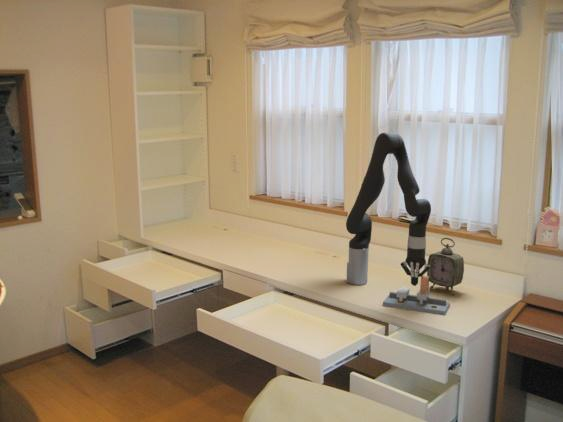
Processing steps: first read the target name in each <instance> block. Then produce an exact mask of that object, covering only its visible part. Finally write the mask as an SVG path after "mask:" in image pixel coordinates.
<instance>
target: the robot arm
mask: <svg viewBox="0 0 563 422" xmlns="http://www.w3.org/2000/svg"><path fill="white" fill-rule="evenodd" d="M388 155H393V156H394V158H395V160H396V163H397V182H398V184H399V187H400V190H401V192H402V194H403V202H404V208H405V211H406V212H407V214H408V215H409V216H410V217H412V218H415V219H414V220H412V221H411V222H409V225H408V236H407V246H406V248H407V249H406V258H405V260H404V261H402V262H401V263H400V266H401V268H402V270H403V271H404V273H406V275H407V276H409V277H410V284H411V286H414V287H416V286H417V285H418V284H419V278H421V277H422V276H425V274H427V270H428V269H429V268H430V267H431V266H430V265H428V262H427V261H426V247H427V239H426V235H427V234H426V233H427V225H428V223H429V219H430V217H431V212H432V205H431V202H430V201H429V200H428V199H426V198H420V199H417V198H416V196H417V195H418V194H420V187H419V185H418V182H417V180H416V178H415V175H414V173H413V169H412V167H411V163H410V160H409V156H408V152H407V148H406V144H405V141H404V138H403V137H402V135H401V134H400V133H399V132H396V131H395V132H391V131H389V132H382V133H379V134H378V136H377V137H376V139H375V142H374V145H373V150H372V154H371V157H370V160H369V164H368V167H367V169H366V173H365V176H364V177H363V180H362V183H361V187H360V188H359V192H358V193H357V194H358V195H357V196H356V199H355V201H354V204H353V206H352V208H351V209H350V212H349V214H348V216H347V219H346V221H345V227H346V230H347V232H348V233H349V234H351V235H354V236H353V238H351V239H350V240H349V242H348V261H347V263H346V283H347V284H351V285H355V286H361V285H362V286H363V285H367V284H368V277H369V276H368V274H369V272H368V271H369V248H370V246H369V245H370V243H371V240H372V231H373V221H372V218H371V216H370V215H369V214H368V213H367V211H368V209H369V208H370V207H371V206H372V205H373V203H374V202H375V201H376V200H377V199H378V198H379V196H380V195H381V193H382V190H383V188H384V185H385V182H386V181H385V180H386V177H385V172H384V164H385V161H386V159H387V156H388ZM409 268H410V269H409ZM422 268H424V269H423V270H422V271H421V272H420V270H421V269H422Z"/></svg>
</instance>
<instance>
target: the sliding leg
mask: <svg viewBox="0 0 563 422" xmlns="http://www.w3.org/2000/svg"><path fill="white" fill-rule="evenodd" d="M430 291H431V289H430V281H429V276H427V275H423V276H422V277H420V289H419V290H418V292H417V293H416V296H417V299H419V300H420V305H423V300H427V299H428V297H430Z"/></svg>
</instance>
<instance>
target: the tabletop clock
mask: <svg viewBox="0 0 563 422" xmlns="http://www.w3.org/2000/svg"><path fill="white" fill-rule="evenodd" d="M444 240H448V241H451V242H452V243H453V245H450V244H449V243H447V244H445V243H443V241H444ZM440 244H441V245H442V246H443V247H444V248H442V249H441V250H440V251H436V252H434V253H431V254H429V256H428V259H427V264H428V265H430V266H431V267H430V268H429V269H428V270H427V272H426V276H429V283H431V284H432V285H429V290H433V289H434V286H435V285H436V286H439V287H443V288H445V291H449V289H451V291H450V295H451V296H454V295H455V291H454V287H455V286H458V285H460V284H461V283H462V281H463V279H464V272H465V262H464V261H465V260H464V257H463V256H461V255H460V254H458V253H454V252H453V249H452V248H453V247H455V245H456V243H455V241H454V239H452V238H449V237H443V238H441V239H440Z"/></svg>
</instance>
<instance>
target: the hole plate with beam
mask: <svg viewBox="0 0 563 422" xmlns="http://www.w3.org/2000/svg"><path fill="white" fill-rule="evenodd" d="M410 290H411V289H410V287H404V286H403V287H402V286H400V287H399V288H398V289H397V291H396V292H395V291H390V292H389V294H388V295H387V296H386V297H385V299H383V301H382V306H384V307H392V308H399V309H404V310H411V311H418V312H423V313H430V314H439V315H444V316H446V314H447V312H448V309H449V308H450V304H451V303H450V301H447V299H444V298H443V299H442V298H437V297H431V296H429V297H428V299H427V300H423V305H420V300H419V299H417V294H416V295H415V294H410Z"/></svg>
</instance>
